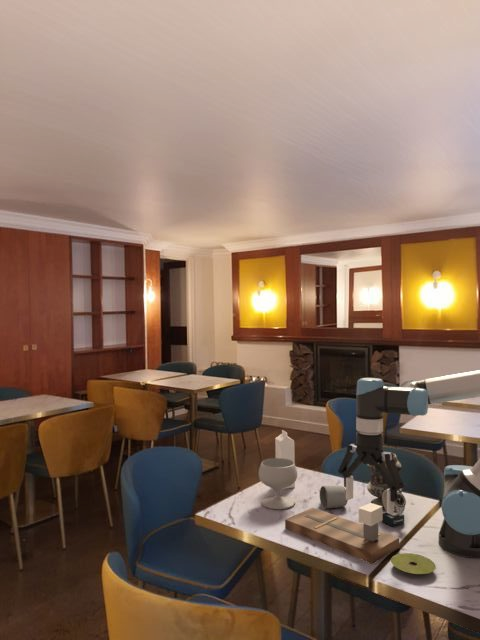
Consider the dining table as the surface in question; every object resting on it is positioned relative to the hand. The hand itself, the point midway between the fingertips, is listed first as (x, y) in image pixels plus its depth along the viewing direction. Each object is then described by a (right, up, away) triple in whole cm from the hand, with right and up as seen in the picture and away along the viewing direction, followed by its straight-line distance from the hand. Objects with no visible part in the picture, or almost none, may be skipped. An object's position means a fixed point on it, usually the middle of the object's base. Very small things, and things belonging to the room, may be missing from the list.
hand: (369, 505), depth 143 cm
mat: (+9, -13, -12) cm, 19 cm away
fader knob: (0, -10, 0) cm, 10 cm away
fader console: (-7, -13, +8) cm, 17 cm away
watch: (+13, -13, +18) cm, 25 cm away
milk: (-19, -13, +55) cm, 60 cm away
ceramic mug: (-5, -13, +34) cm, 37 cm away
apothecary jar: (+15, -13, +35) cm, 40 cm away
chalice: (-24, -13, +36) cm, 45 cm away
